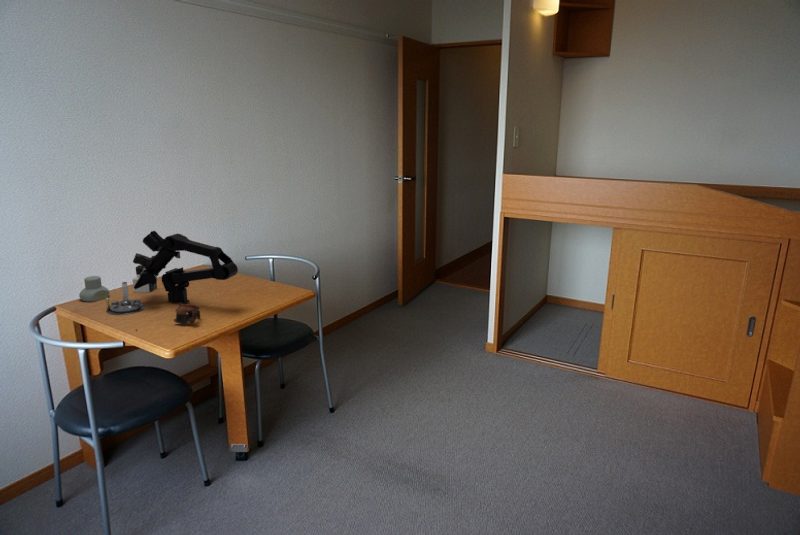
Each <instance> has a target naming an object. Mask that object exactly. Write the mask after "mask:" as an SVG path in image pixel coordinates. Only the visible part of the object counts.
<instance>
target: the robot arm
mask: <svg viewBox="0 0 800 535" xmlns="http://www.w3.org/2000/svg"><path fill="white" fill-rule="evenodd" d="M142 243H143V244H144V245H145V246H147V248H149V249H150V250H151V251H152V252H153V253H155V252H157V253H155V255H152V256H151V257H149V256H146V255H143V254H141V253H135V255H134V257H133V259H132V263H133V264H134V265H135V264H136V265H141V266H142V267H143V266H144V269H143V270H142V269H140V277H139V279H138V280H137V282H136V284H135V286H134V289H138V288H140V287H142V286H144V285H147V284H149V283H150V284H152V285H154V284H155V283H156V282H157V281H158V280H157V279H158V278H157V277H158V276H159V274H160V272H162V271H163V269H164V270H165V269H166V268H167V265H168V264H169V263H170V262H171V261H172V260H173V259H174V258H176V259H181V251H182V252H184V251H185V252H188V253H192V254H194V255H195V254H196V255H200V256H203V257H207V258H209V259H210V262H211V267H210V268H202V269H193V270H188V271H186V270H184V267H183V266H182V267H179V268H177V267H175V268H172V269H170V270H167V271H165V273H163V274H162V276H161V282H162V285H163V287H164V290H165V292H167V300H168V302H169V303H172V304H189V302H190V299H188V291H187V288H188V287H190V282H194V281H200V280H208V279H209V280H210V279H215V280H217V281H225V280H228V279H231V278H232V277H234V276H236V275H237V273H238V271H239V270H238V269H239V268H238V266H237V264H236V263H235V262H234V261H233V259H232V258H231V257H230V256H229V255H228V254H226V253H225V252H224V251H223V249H222V248H221V247H219V246H214V245H209V244H205V243H202V242H198V241H194V240H191V239H189V238H188V237H187V236H185V235H183V234H181V233H173V234H171V235H168V236H166V237H165V238H163V237H162V236H161V235H159V233H158V232H157V231H156V230H153V231H150V233H148V234H147V235H146V236H145V237H143V238H142ZM220 261H221V262H222V263H223V264H221V262H220ZM155 275H156V276H155ZM157 283H158V282H157ZM134 289H133V290H134Z"/></svg>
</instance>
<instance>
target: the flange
mask: <svg viewBox="0 0 800 535" xmlns="http://www.w3.org/2000/svg"><path fill="white" fill-rule="evenodd" d="M109 298H110V297H107V298H105V299H104V300H105V306H106V314H108V315H111V316H128V315H135V314H137V313H140V312H143V311H144V310H145V309H147V306H146V305H145V304H143V303H141V304H142V307H141V308H140V309H139V310H136V311H133V312H128V313H114V312H112V311H111V309H110V306H111V303H110V299H109Z"/></svg>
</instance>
